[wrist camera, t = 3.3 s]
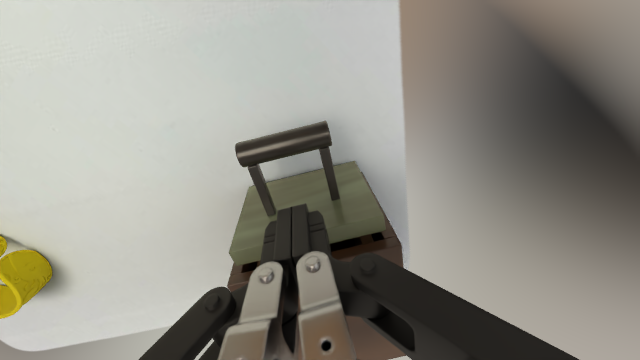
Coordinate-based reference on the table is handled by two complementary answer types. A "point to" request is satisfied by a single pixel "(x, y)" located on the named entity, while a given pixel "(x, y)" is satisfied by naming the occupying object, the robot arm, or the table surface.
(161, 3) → the table surface
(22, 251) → the bracelet
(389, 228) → the cabinet
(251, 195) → the drawer
